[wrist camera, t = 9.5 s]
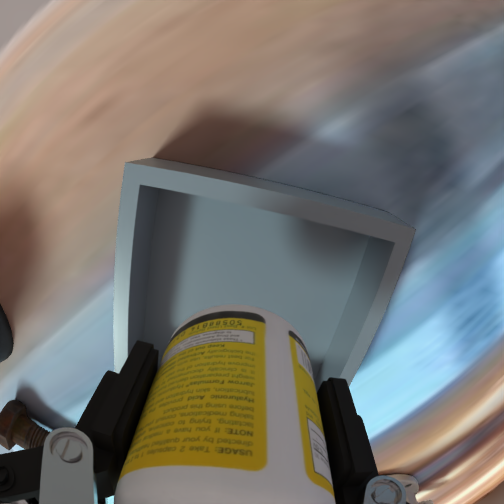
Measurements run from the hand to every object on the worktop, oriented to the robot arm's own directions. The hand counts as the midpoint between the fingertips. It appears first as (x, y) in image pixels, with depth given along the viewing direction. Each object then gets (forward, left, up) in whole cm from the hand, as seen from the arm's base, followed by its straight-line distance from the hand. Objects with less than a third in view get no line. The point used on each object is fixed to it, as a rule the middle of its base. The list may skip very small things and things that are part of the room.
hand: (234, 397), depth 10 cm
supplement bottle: (0, 0, -2) cm, 2 cm away
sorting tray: (0, 0, -8) cm, 8 cm away
